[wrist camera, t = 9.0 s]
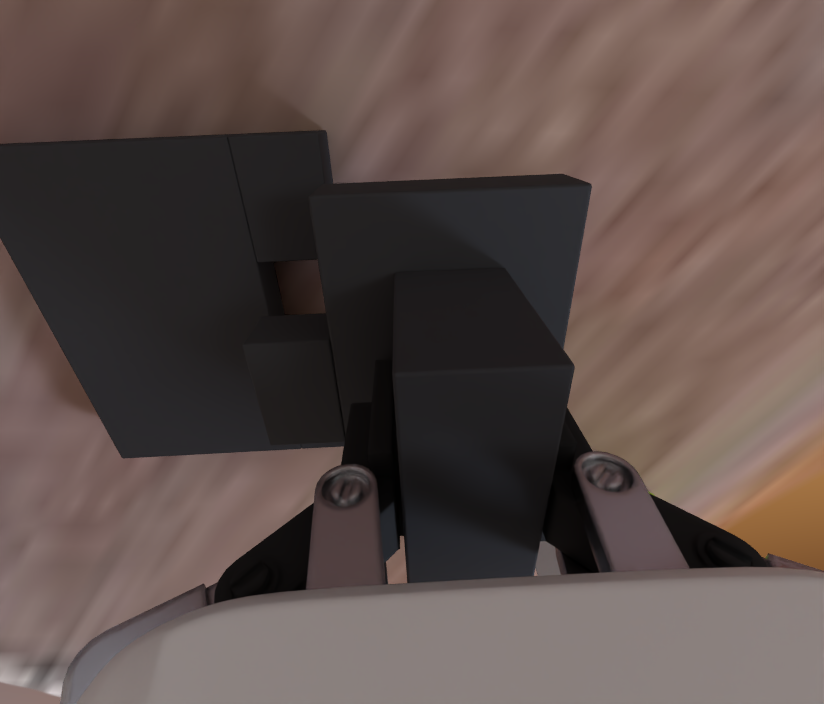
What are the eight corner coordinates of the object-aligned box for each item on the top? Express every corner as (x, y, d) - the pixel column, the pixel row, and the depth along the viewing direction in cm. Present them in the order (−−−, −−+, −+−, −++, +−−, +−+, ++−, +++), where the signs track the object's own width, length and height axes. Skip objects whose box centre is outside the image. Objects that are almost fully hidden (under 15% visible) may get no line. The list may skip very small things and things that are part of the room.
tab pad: (229, 187, 12) (43, 266, 5) (564, 173, 12) (746, 235, 6) (302, 482, 18) (252, 675, 12) (522, 471, 18) (587, 657, 12)
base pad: (0, 144, 15) (-51, 148, 13) (326, 130, 15) (317, 132, 13) (143, 431, 22) (122, 458, 20) (363, 420, 22) (360, 446, 20)
